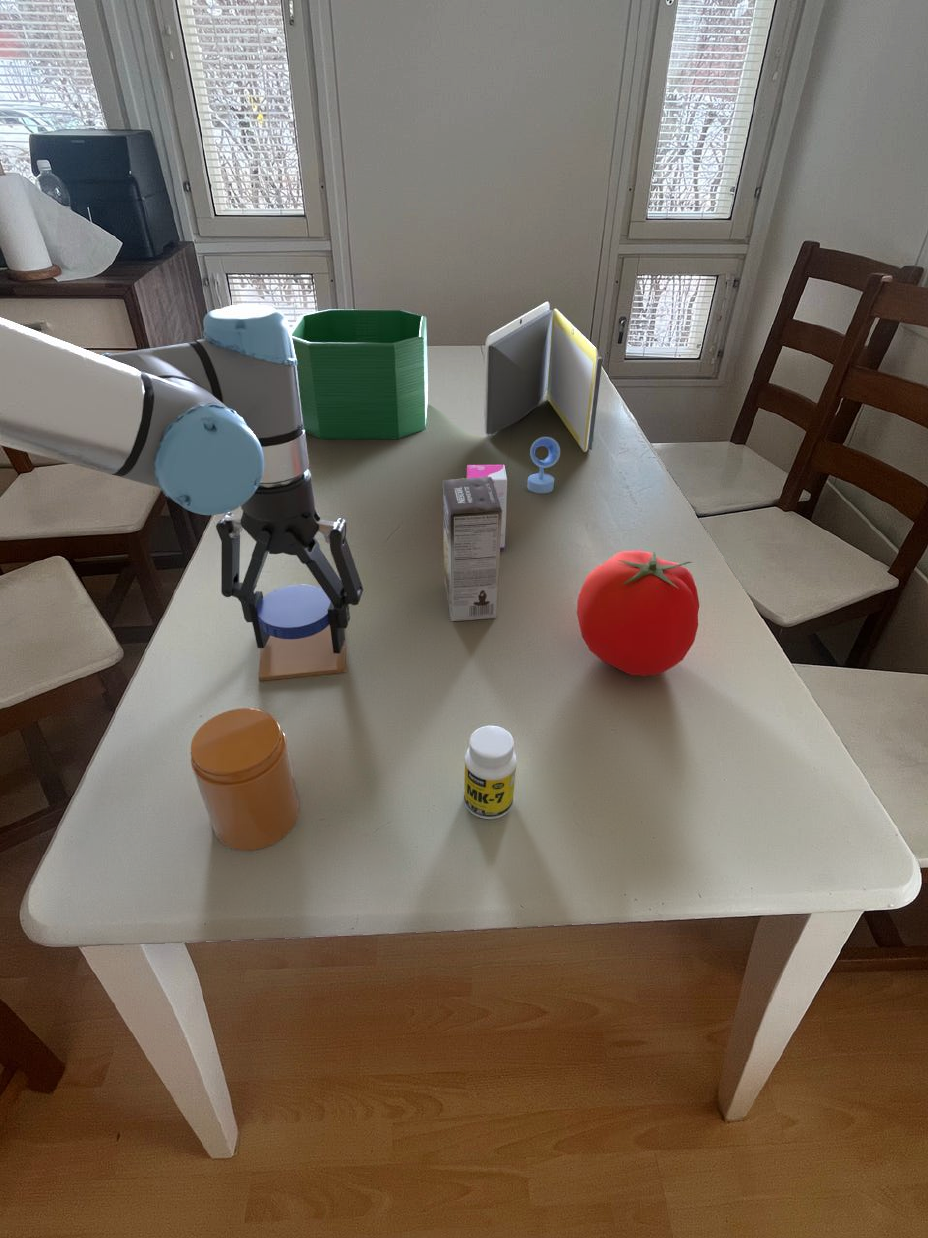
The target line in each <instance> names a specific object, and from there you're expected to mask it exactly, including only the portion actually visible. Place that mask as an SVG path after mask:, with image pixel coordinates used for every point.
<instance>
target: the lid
mask: <svg viewBox="0 0 928 1238" xmlns="http://www.w3.org/2000/svg"><path fill="white" fill-rule="evenodd" d="M330 603H331V601H330V599H329V598H328V596H327V595H326V593H325V592H324V591H323V589H322V588H321V586H320V587H319V586H316V585H313V584H303V583H302V584H298V583H297V584H290V585H285V586H282V587H278V588H276V589H274V590H272V591H270V592H268V593H267V594H265V595H263V598H262V599H261V601H260V603H259V604H258V607H257V614H258V617H257V618H258V623H259V625H260V626H261V628H262V630H263V631H264V632H265V633H267V634H268V635H270V636H273V637H275V638H280V639H301V638H306V637H309V636H312V635H315V634H317V633H319V632H321V631H322V630H324V629H325V628H326V627H327V626H329V625H330V623H329V616H328V608H329V605H330Z"/></svg>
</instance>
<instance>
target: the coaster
mask: <svg viewBox="0 0 928 1238" xmlns="http://www.w3.org/2000/svg"><path fill="white" fill-rule="evenodd" d="M345 647H346V646H345V642H344V643H343V646H342V649H341V652H340V654H338V653H333V645H332V638H331V630H330V625H329V626H327V627H326V628H325V629H324V630H322V631H321V632H319V633H317V634H315V635H312V636H309V637H306V638H301V639H280V638H275V637H273V636H270V637H269V639H268V641H267V643H266V645H265V647H264V648H260V657H259V665H258V677H257V679H258V681H259V682H264V681H274V680H275V681H276V680H284V679H285V680H286V679H295V678H303V677H310V676H311V677H312V676H322V675H332V674H333V675H334V674H341V673H346V672H347V670H346V669H347V668H346V666H347V665H346V649H345Z"/></svg>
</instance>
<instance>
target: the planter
mask: <svg viewBox="0 0 928 1238" xmlns="http://www.w3.org/2000/svg"><path fill="white" fill-rule="evenodd" d="M290 332H291V335H292V340H293V345H294V351H295V356H296V359H297V365H296V366H297V375H298V383H299V392H300V401H301V410H302V419H303V424H304V429H305V433H308V434H310V435H312V436H314V437H316V438H318V439H320V440H400V439H403V438H405V437H408V436H411V435H414V434H416V433H419V432H421V431H424V430H426V428H427V418H428V417H427V415H428V403H429V400H428V398H429V396H428V392H429V379H428V378H429V377H428V373H429V371H428V342H427V341H428V338H427V335H428V333H427V317H426V316H424V315H421V314H417V313H414V312H410V311H407V310H403V309H326V310H325V309H324V310H320V311H316V312H311V313H306V314H302V315H299V317H298V319H297V320H296V321H295V323H294V325H292V327H291V328H290Z"/></svg>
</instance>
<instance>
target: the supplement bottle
mask: <svg viewBox="0 0 928 1238" xmlns="http://www.w3.org/2000/svg"><path fill="white" fill-rule="evenodd" d="M514 748H515V741H514V738H513V736H512V734H511V733H510V732H509V731H508V730H507V729H505V728H503V727H500V726H496V725H485V726H482V727H479V728H477V729H476V730H475V731H473V732H472V734H471V735H470V738H469V746H468V748H467V750H466V752H465V756H464V776H463V777H464V779H463V781H464V782H463V801H464V805H465V807H466V809H467V810H468V812H470V813H471V814H472V815H474V816H475V817H477V818H479V819H483V820H494V819H499V818H502V817H504V816H505V815H506V814H507V813H508V812H509V811H510V810H511V808H512V806H513V803H514V796H515V795H514V793H515V785H516V784H515V783H516V775H517V774H516V773H517V756H516V752H515V749H514Z"/></svg>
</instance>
